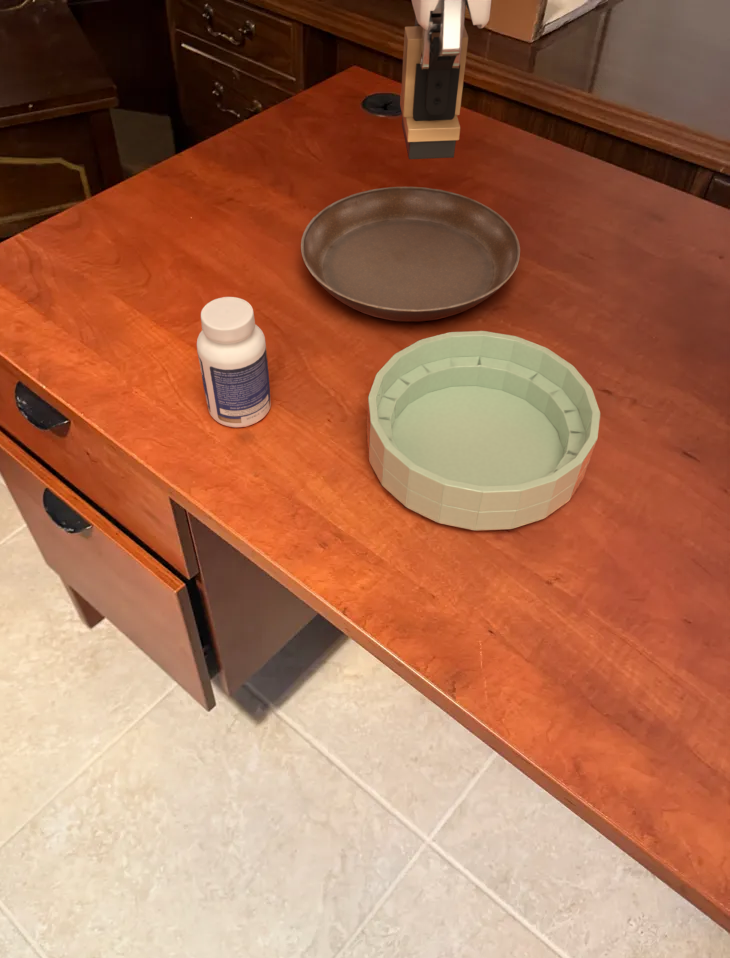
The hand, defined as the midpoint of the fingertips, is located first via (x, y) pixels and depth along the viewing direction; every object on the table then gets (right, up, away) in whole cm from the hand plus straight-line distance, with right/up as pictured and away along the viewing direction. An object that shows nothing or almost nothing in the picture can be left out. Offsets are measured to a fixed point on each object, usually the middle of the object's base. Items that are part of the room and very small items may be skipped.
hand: (431, 107), depth 65 cm
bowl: (+4, -27, +2) cm, 27 cm away
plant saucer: (0, -8, +16) cm, 18 cm away
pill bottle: (-16, -23, +5) cm, 28 cm away
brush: (0, -2, +2) cm, 3 cm away
